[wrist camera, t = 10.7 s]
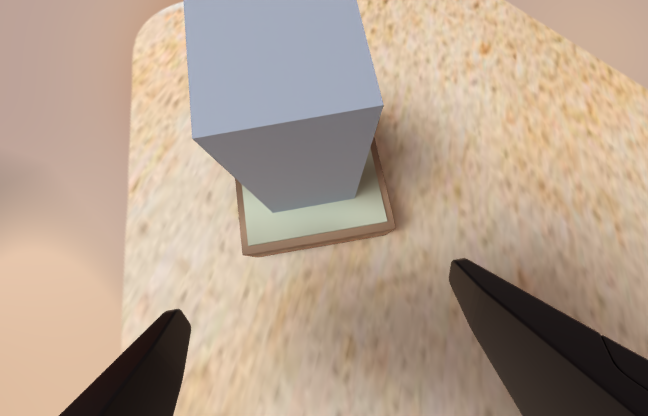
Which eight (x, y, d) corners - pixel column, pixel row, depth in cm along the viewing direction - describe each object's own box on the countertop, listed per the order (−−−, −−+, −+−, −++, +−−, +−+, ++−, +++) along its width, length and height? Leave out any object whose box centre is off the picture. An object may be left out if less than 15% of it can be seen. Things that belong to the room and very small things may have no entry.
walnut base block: (385, 235, 20) (396, 227, 16) (257, 257, 20) (241, 254, 16) (359, 121, 22) (364, 92, 19) (245, 140, 22) (227, 115, 19)
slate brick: (354, 198, 17) (383, 105, 7) (272, 213, 17) (192, 138, 7) (338, 125, 18) (346, -39, 8) (263, 138, 18) (182, -11, 8)
